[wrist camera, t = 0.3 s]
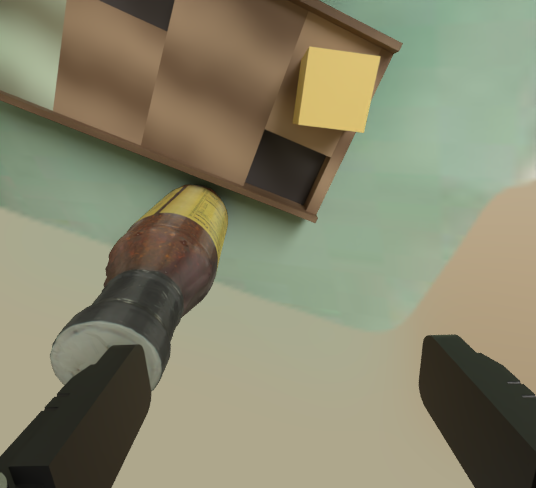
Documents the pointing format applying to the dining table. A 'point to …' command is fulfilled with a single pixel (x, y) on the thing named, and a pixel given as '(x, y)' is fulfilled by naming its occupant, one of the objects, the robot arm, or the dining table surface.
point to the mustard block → (335, 89)
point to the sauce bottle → (149, 283)
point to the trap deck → (189, 84)
